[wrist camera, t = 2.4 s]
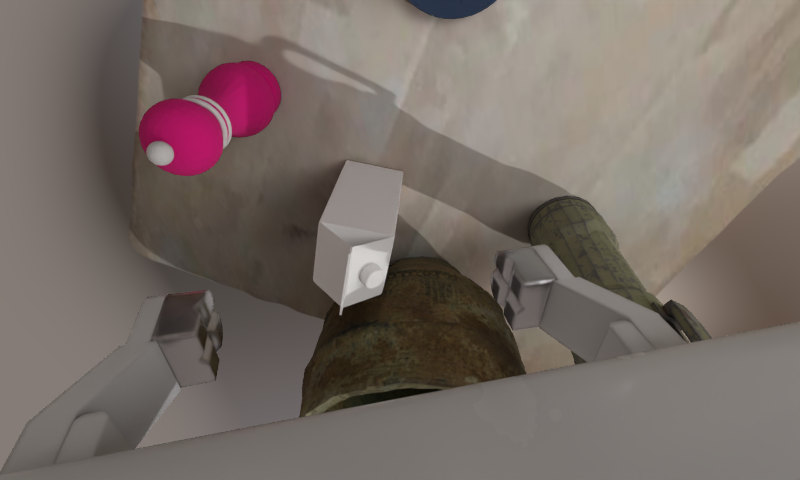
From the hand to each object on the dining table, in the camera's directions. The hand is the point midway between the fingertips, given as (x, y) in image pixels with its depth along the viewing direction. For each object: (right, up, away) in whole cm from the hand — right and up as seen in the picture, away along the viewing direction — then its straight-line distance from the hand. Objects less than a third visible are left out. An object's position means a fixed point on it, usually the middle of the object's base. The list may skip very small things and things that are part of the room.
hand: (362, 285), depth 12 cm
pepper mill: (-15, +18, +34) cm, 42 cm away
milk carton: (-3, +8, +40) cm, 41 cm away
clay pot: (+4, -7, +49) cm, 50 cm away
